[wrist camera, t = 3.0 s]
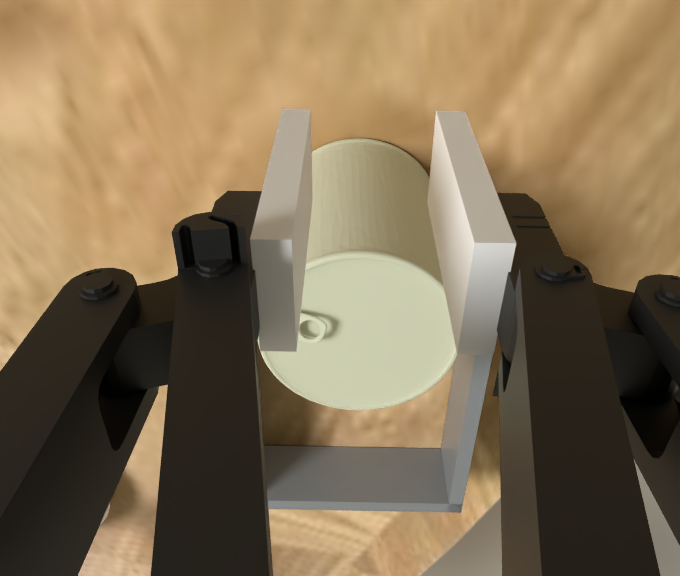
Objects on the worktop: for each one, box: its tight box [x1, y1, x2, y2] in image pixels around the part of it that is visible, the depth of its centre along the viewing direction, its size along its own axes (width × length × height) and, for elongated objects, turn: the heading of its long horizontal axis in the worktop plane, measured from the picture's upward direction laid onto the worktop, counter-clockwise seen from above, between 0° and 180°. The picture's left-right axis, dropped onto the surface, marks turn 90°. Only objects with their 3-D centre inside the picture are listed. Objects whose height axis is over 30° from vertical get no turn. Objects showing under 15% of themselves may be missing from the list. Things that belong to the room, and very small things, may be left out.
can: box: [258, 138, 458, 410], centre depth 32 cm, size 9×9×12 cm
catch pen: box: [264, 354, 493, 512], centre depth 44 cm, size 16×16×5 cm
